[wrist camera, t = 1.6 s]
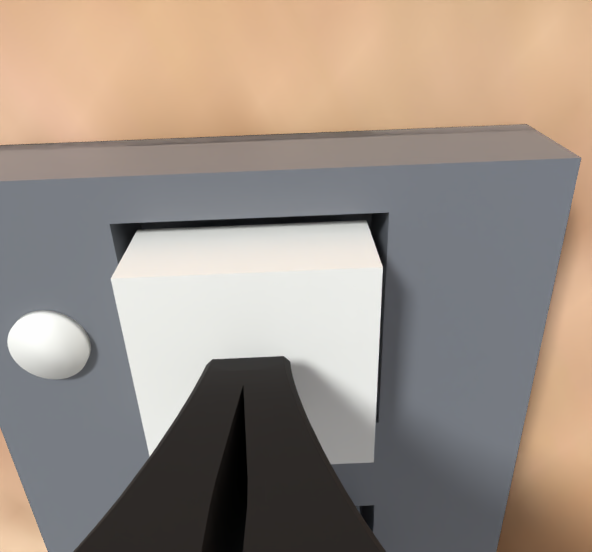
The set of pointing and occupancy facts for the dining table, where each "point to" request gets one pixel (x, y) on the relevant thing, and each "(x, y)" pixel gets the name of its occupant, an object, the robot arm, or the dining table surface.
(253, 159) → the grey flat block
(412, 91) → the dining table surface
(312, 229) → the key cream
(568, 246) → the dining table surface
